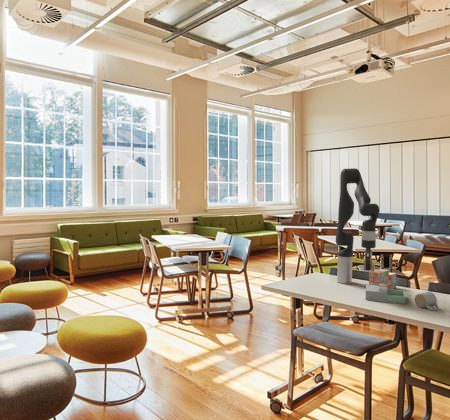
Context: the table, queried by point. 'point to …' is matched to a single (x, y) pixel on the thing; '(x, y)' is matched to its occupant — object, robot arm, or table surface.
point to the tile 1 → (383, 289)
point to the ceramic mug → (426, 300)
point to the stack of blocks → (382, 278)
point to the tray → (396, 296)
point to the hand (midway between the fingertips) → (367, 269)
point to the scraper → (372, 266)
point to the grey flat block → (375, 293)
